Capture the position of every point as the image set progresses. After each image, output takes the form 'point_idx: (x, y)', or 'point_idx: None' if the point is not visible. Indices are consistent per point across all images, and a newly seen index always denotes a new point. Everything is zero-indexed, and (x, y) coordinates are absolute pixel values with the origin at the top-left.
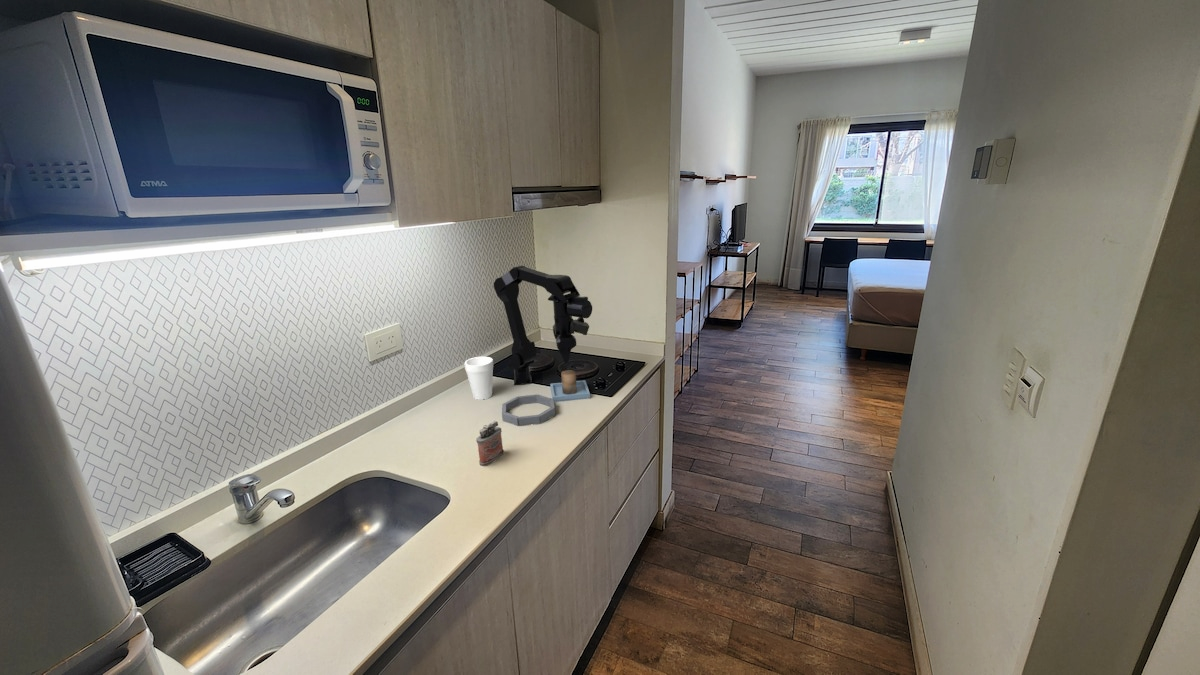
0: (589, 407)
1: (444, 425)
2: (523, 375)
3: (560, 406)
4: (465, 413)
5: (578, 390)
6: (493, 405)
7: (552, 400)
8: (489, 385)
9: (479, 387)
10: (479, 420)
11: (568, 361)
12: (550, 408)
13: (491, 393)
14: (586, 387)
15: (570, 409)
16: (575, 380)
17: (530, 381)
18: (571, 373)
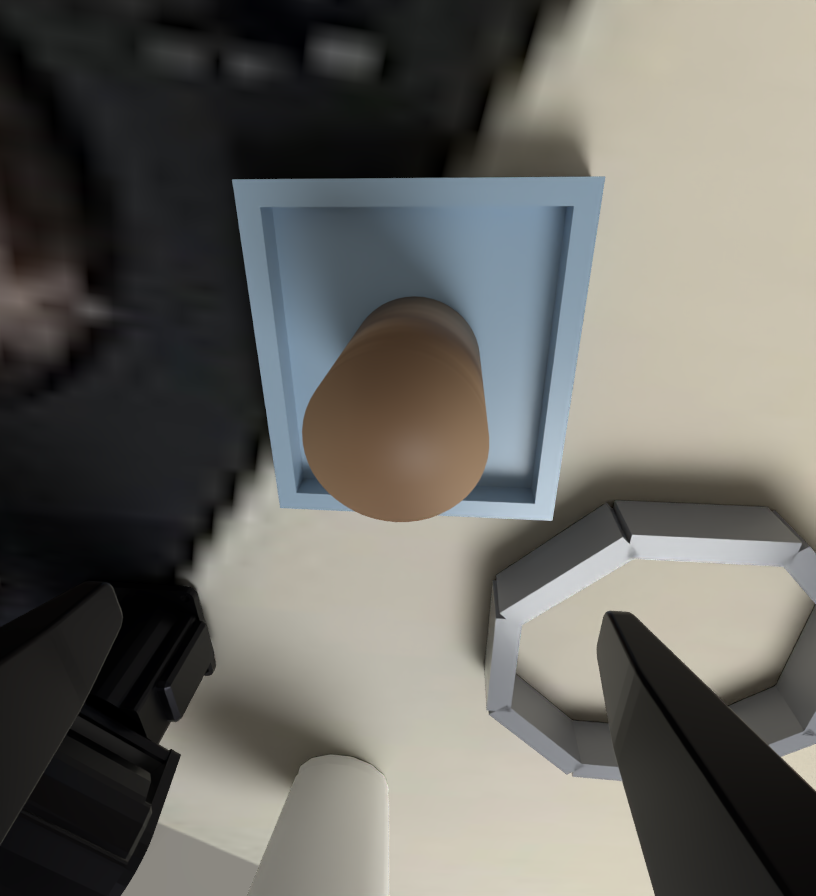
0: (795, 216)
1: (607, 887)
2: (182, 680)
3: (643, 456)
4: (520, 837)
5: (410, 279)
6: (471, 757)
7: (656, 541)
8: (364, 844)
9: (388, 879)
10: (622, 807)
11: (655, 638)
12: (801, 570)
13: (352, 774)
14: (431, 193)
15: (739, 392)
16: (447, 340)
17: (178, 597)
18: (425, 413)
